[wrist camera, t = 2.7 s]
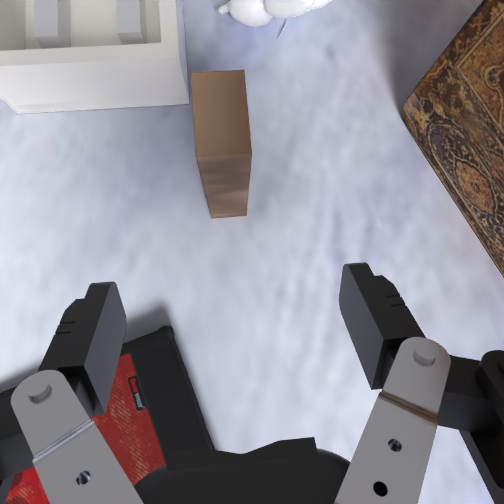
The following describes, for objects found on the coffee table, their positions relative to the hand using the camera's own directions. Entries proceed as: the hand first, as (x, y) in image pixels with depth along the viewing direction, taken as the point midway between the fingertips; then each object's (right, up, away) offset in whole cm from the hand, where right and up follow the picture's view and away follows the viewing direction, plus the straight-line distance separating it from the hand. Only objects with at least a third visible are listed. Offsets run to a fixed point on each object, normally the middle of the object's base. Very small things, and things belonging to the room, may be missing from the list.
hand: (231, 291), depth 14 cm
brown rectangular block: (-1, +6, +13) cm, 14 cm away
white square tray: (-10, +17, +15) cm, 25 cm away
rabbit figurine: (+3, +18, +15) cm, 24 cm away
